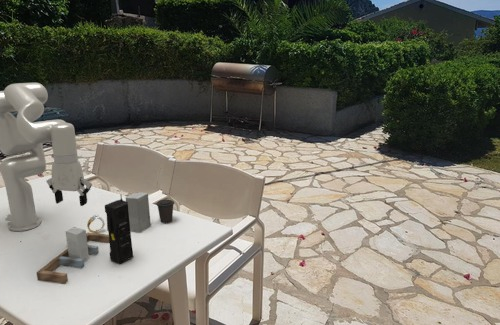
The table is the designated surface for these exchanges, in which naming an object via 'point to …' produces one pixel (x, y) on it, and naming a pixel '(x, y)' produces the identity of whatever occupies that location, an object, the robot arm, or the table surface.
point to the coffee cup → (165, 210)
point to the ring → (92, 221)
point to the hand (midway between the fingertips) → (71, 203)
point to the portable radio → (119, 231)
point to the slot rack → (69, 261)
